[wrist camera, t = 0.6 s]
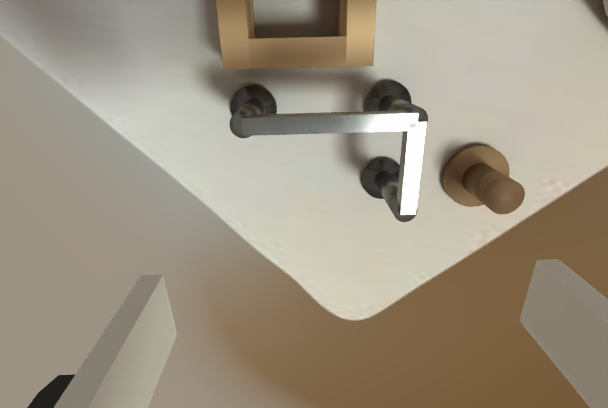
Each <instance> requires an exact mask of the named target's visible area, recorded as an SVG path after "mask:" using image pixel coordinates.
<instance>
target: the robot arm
mask: <svg viewBox="0 0 608 408" xmlns="http://www.w3.org/2000/svg"><path fill="white" fill-rule="evenodd" d="M520 322H521V323H522V324H523V326H524V327H525V328H526V329H527V330H528V332H529V333H530V334H531V335H532V336H533V338H534V339H535V340H536V342H537V343H538V344H539V345H540V346H541V348H542V349H543V350H544V351H545V353H546V354H547V355H548V356H549V357H550V359H551V360H552V361H553V362H554V364H555V365H556V366H557V367H558V369H559V370H560V371H561V372H562V374H563V375H564V376H565V377H566V378H567V380H568V381H569V382H570V383H571V385H572V386H573V387H574V388H575V389H576V391H577V392H578V393H579V394H580V396H581V397H582V398H583V399H584V401H585V402H586V403H587V404H588V405H589V407H590V408H608V299H607V298H605V297H604V296H603V295H602V294H600V293H599V292H598V291H597V290H595V289H594V288H593V287H592V286H591V285H589V284H588V283H587V282H586V281H584V280H583V279H582V278H581V277H580V276H578V275H577V274H576V273H575V272H573V271H572V270H571V269H570V268H569V267H567V266H566V265H565V264H564V263H562V262H561V261H560V260H558V259H555V260H537V262H536V266H535V269H534V272H533V276H532V279H531V283H530V286H529V290H528V293H527V297H526V300H525V303H524V307H523V310H522V314H521V317H520ZM176 336H177V332H176V328H175V324H174V319H173V315H172V311H171V307H170V302H169V298H168V294H167V290H166V286H165V282H164V277H163V275H141V276H140V278H139V279H138V281H137V282H136V284H135V285H134V287H133V288H132V290H131V291H130V293H129V294H128V296H127V297H126V299H125V301H124V302H123V303H122V305H121V306H120V308H119V309H118V311H117V313H116V314H115V315H114V317H113V318H112V320H111V321H110V323H109V324H108V326H107V328H106V329H105V331H104V332H103V334H102V335H101V337H100V338H99V340H98V341H97V343H96V344H95V346H94V347H93V349H92V350H91V352H90V353H89V355H88V356H87V358H86V359H85V361H84V363H83V364H82V366H81V367H80V368H79V370H78V371H77V373H76V375H59V376H57V377H56V378H55V379H54V380H53V381H52V382H50V383H49V384H48V385H47V386H46V387H45V388H43V389H42V390H41V391H40V392H39V393H38V394H37V396H36V397H35V398H34V399H33V401H32V402H31V404H30V405H29V406H28V408H148V406H149V403H150V400H151V398H152V396H153V393H154V391H155V388H156V386H157V383H158V381H159V378H160V376H161V373H162V371H163V368H164V365H165V363H166V361H167V358H168V356H169V353H170V351H171V348H172V346H173V343H174V341H175V338H176Z"/></svg>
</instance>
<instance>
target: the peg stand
mask: <svg viewBox="0 0 608 408" xmlns="http://www.w3.org/2000/svg"><path fill="white" fill-rule="evenodd" d="M442 180H443V187H444V189H445V191H446V193H447V194H448V195H449V196H450V197H451V198H452V199H453V200H454V201H455V202H457V203H458V204H461V205H464V206H469V207H474V206H480V205H483V204H484V205H486V206H487V207H488V208H489V209H491V210H492V211H493V212H495V213H497V214H508V213H510V212H513V211H514V210H516V209H517V208H518V207H519V206H520V205H521V203H522V202H523V200H524V196H525V192H524V188H523V187H522V185H521V184H519V183H518V182H516V181H514V180H513V179H511V178H509V165H508V162H507V160H506V158H505V157H504V156H503V155H502V154H501V153H500V152H499V151H497V150H495V149H493V148H491V147H488V146H485V145H473V146H469V147H466V148H464V149H462V150H460V151H459V152H457V153H456V154H455V155H454V156H453V157H452V158H451V159H450V160H449V162H448V163H447V165H446V167H445V169H444V172H443V179H442Z"/></svg>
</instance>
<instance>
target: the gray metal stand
mask: <svg viewBox="0 0 608 408" xmlns="http://www.w3.org/2000/svg"><path fill="white" fill-rule="evenodd" d="M365 110H366V112H332V113H296V114H276V112H277V105H276V101H275V99H274V97H273V95H272V94H271V93H270V92H269V91H268V90H267V89H266V88H264V87H262V86H259V85H248V86H245V87H243V88H241V89H240V90H239V91H238V92H237V93H236V94H235V95H234V97H233V99H232V103H231V112H232V115H233V116H232V118H231V120H230V129H231V131H232V133H233V134H234V135H236V136H237V137H240V138H247V137H250V136H251V135H286V134H320V133H355V132H390V131H403V136H402V147H401V158H400V165H399V164H398V163H397V162H396V161H394V160H392V159H389V158H379V159H376V160H374V161H372V162H371V163H369V164H368V165H367V166H366V168H365V169H364V172H363V175H362V183H363V186H364V188H365V190H366V192H367V193H368V194H369V195H371V196H372V197H375V198H379V199H385V201H386V203H387V204H388V206H389V207H390V209H391V211H392V212H393V214H394V216H395V217H396V219H397V220H399V221H402V222H407V221H410V220H412V219H413V218H414V217H415V216H416V214H417V201H418V192H419V183H420V174H421V165H422V157H423V148H424V139H425V130H426V124H427V122H428V115H427V113H426V111H425V110H424V109H422V108H420V107H418V106H416V105H413V104H411V97H410V94H409V92H408V90H407V89H406V88H405V87H404V86H403V85H402V84H400V83H397V82H393V81H385V82H382V83H379V84H377V85H376V86H375V87H374V88H372V90H371V91H370V92H369V94H368V96H367V98H366V102H365Z"/></svg>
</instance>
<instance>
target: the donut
mask: <svg viewBox="0 0 608 408" xmlns="http://www.w3.org/2000/svg"><path fill="white" fill-rule="evenodd" d="M603 5H604V9H605V13H606V15H607V16H608V0H603Z"/></svg>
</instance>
